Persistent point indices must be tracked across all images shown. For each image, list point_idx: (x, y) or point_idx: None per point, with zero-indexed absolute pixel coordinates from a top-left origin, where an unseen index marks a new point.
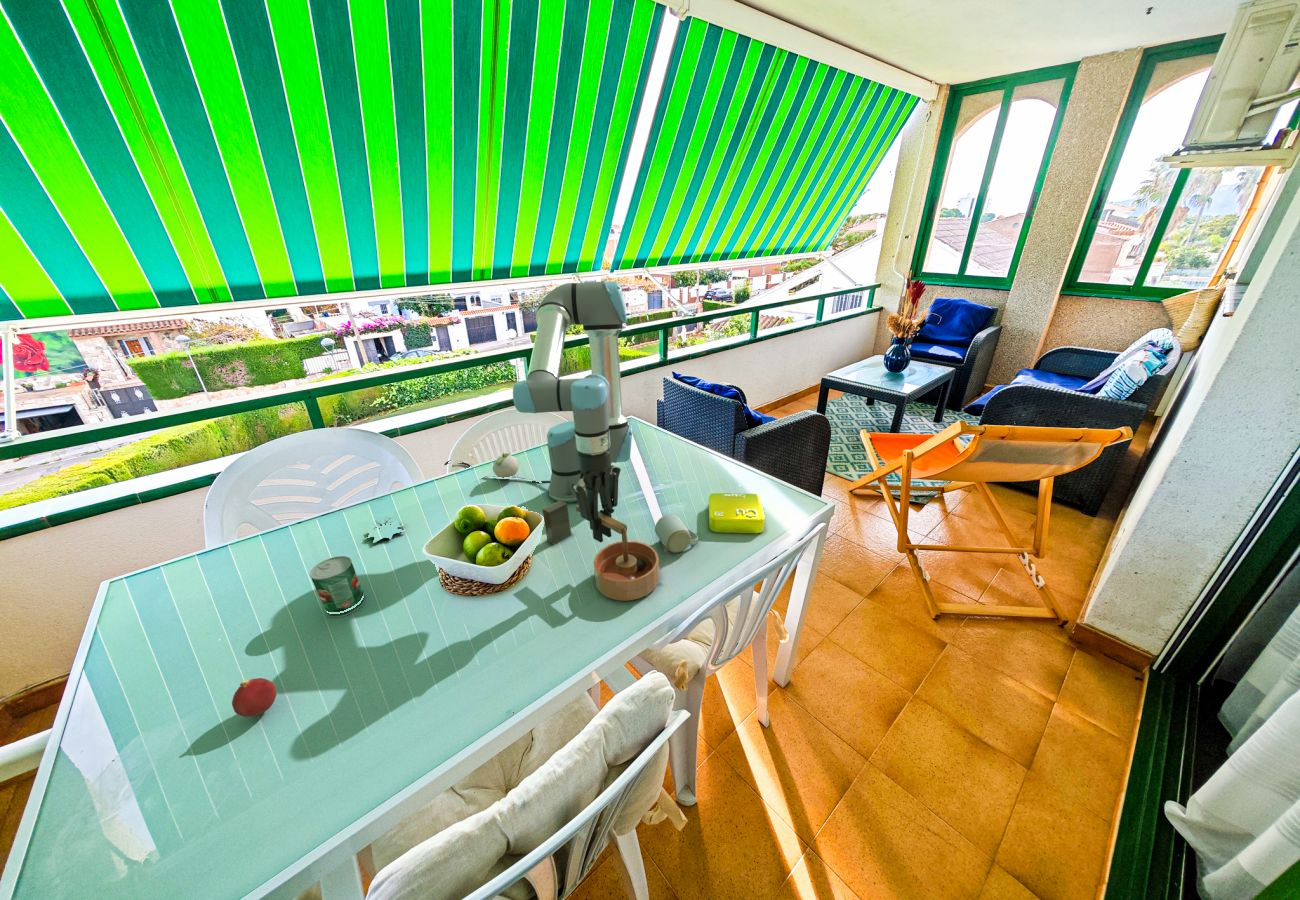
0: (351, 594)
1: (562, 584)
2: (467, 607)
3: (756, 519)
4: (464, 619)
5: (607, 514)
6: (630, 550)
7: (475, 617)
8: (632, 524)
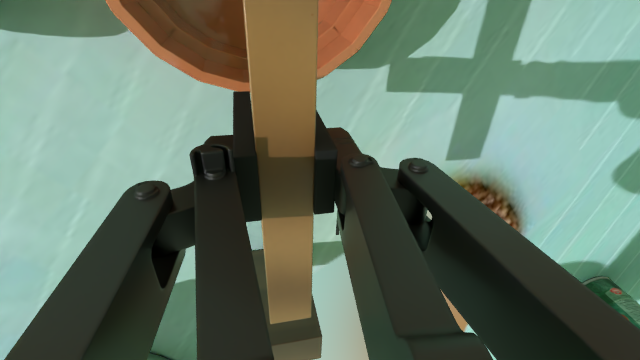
0: (617, 303)
1: (396, 102)
2: (541, 185)
3: None
4: (570, 160)
5: (253, 156)
6: (155, 22)
7: (560, 150)
8: (25, 186)
